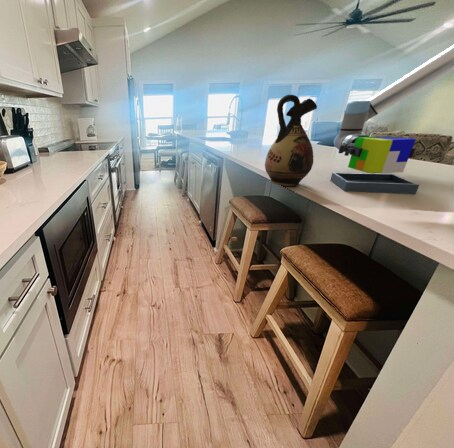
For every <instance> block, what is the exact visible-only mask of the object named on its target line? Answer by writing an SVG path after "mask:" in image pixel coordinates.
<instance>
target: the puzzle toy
mask: <svg viewBox="0 0 454 448" xmlns="http://www.w3.org/2000/svg"><path fill="white" fill-rule="evenodd" d="M416 141H417V139H416V138H410V137H409V138H407V137H397V136H388V135H387V136H383V135H382V136H369V137H357V138H356V141H355V145H354V146H356V147H360V148H363V149H362V152H361V156H360V157H356V156H353V155H350V159H349V162H348V166H347V168H349V169H353V170H355V171H359V172H362V173H370V174H394V173H395V174H397V173H404V170H405V168H406V166H407V163H408V160H409V155H410V153H411V150H412V148H414V145H415V143H416Z"/></svg>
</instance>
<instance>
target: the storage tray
mask: <svg viewBox="0 0 454 448" xmlns="http://www.w3.org/2000/svg"><path fill="white" fill-rule="evenodd" d="M330 181H331V182H332V183H333V184H334V185H336V186H337V187H338V188H340V189H341V190H342V191H344V192H355V193H356V192H357V193H380V194H401V195H403V194H404V195H405V194H406V195H417V192H418V189H419V188H420V184H419V183H417V182H415V181H412V180H409V179H407V178H404V177H402V176H400V175H397V174H396V173H395V174H394V173H373V174H370V173H367V172H331V176H330Z"/></svg>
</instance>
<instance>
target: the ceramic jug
mask: <svg viewBox="0 0 454 448" xmlns="http://www.w3.org/2000/svg"><path fill="white" fill-rule="evenodd" d="M289 102H292V103H293V106H292V107H291V108H289V110H288V111H287V112H286V114H285V115H284V105H285V104H286V103H289ZM317 108H318V105H317V103H316V102H315V101H314V100H313V99H312V98H310V97H308V98H307V99H304V100H303V101H302V102H301V101H300V98H299V97H298V95H295V94H286V95H284V96H282V97H281V98H280V99H279V101H278V103H277V108H276V113H277V118H278V124H279V131H278V133H277V137H276V139H275V140H274V141H273V143H272V144H271V146H270V147H269V149H268V151H267V154H266V157H265V160H264V169H265V172H266V174H267V175H268V177H269V179H270V183H271V184H274V185H278V186H281V187H298V186H300V183H301V181H302V180H303V179H305V177H306V176H307V175H308V174H309V173H310V172H311V170H312V168H313V165H314V150H313V145H312V142H311V140H310V138H309V136H308V134H307V132H306V131H305V129H304V127H303V125H302V117H303V116H304V115H306V114H308V113H310V112H313V111H315V110H317ZM285 116H287V117H290V119H289V121H288V123H287V124H286V121H285ZM259 185H261V184H259Z"/></svg>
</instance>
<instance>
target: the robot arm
mask: <svg viewBox="0 0 454 448" xmlns="http://www.w3.org/2000/svg"><path fill="white" fill-rule="evenodd" d="M453 71H454V44H452V45H451V46H449V47H448V48H445V49H444V50H443V51H442V52H440V53H438V54H437V55H435V56H433V57H432V58H430V59H429V60H427V61H426V62H424V63H423V64H421V65H420V66H418V67H416V68H415V69H413V70H412V71H410V72H408V73H407V74H405V75H403V77H401V78H399V79H398V80H396V81H395V82H392V83H391V84H390V85H388V86H386V87H385V88H384V89H382V90H381V91H379V92H378V93H376V94H374V95H373V96H371V97H370V98H368V99H366V100H365V99H364V100H350V101H348V102H347V103H346V106H345V109H344V112H343V116H342V121H341V125H340V128H339V132H338V134H337V135H336V136H335V137H334V138H333V146H334V147H335V149H337V150H338V154H344V156H347V157H348V156H351V155H353V156H356V157H360V156H361V152H362V149H363V148H360V147H356V146H354V145H355V141H356V138H357V137H370V136H369V135H365V134H362V133H363V131H364V129H363V128H364V127H365V123H366V122H368V121H369V120H370V119H372V118H374V117H376V116H377V115H379V114H381V113H382V112H384V111H385V110H387V109H390V108H391V107H393V106H394V105H396V104H397V103H399V102H401V101H402V100H404V99H406V98H408V97H409V96H411V95H413V94H415V93H416V92H418V91H420V90H422V89H423V88H425V87H428V86H429V85H430V84H432V83H434V82H435V81H437V80H439V79H441V78H442V77H444V76H445V75H447V74H449V73H451V72H453ZM415 150H416V147H413V148H412V150H411V153H410V155H409V158H413V157H414V153H415ZM409 158H408V159H409Z"/></svg>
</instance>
